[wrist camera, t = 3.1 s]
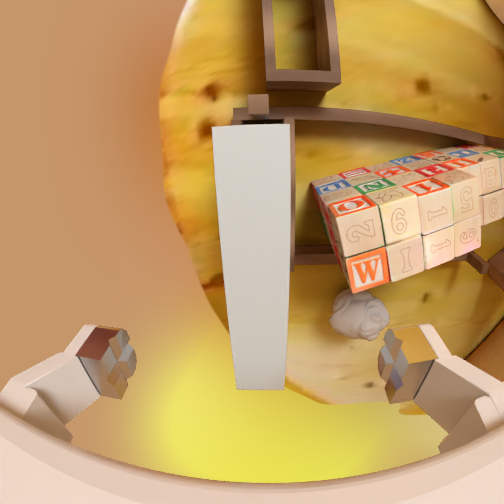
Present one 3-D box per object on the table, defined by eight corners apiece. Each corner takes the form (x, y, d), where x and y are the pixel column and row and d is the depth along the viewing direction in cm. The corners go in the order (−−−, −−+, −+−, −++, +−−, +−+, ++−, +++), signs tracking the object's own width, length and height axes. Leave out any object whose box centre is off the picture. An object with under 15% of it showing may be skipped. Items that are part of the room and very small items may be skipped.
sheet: (250, 128, 26) (211, 126, 8) (275, 127, 26) (289, 124, 8) (255, 238, 31) (236, 389, 13) (277, 238, 31) (284, 389, 13)
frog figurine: (372, 313, 35) (388, 348, 28) (322, 318, 35) (330, 356, 29) (378, 273, 32) (398, 306, 26) (324, 278, 33) (334, 314, 27)
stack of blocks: (466, 141, 24) (537, 159, 13) (472, 189, 27) (537, 222, 15) (308, 181, 28) (334, 218, 17) (324, 234, 31) (352, 296, 20)
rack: (236, 109, 25) (213, 97, 15) (479, 134, 23) (546, 150, 13) (243, 255, 32) (230, 323, 21) (462, 252, 30) (514, 299, 19)
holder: (259, -33, 18) (257, -60, 12) (314, -31, 17) (322, -57, 12) (266, 90, 24) (266, 80, 19) (326, 91, 24) (341, 83, 19)
